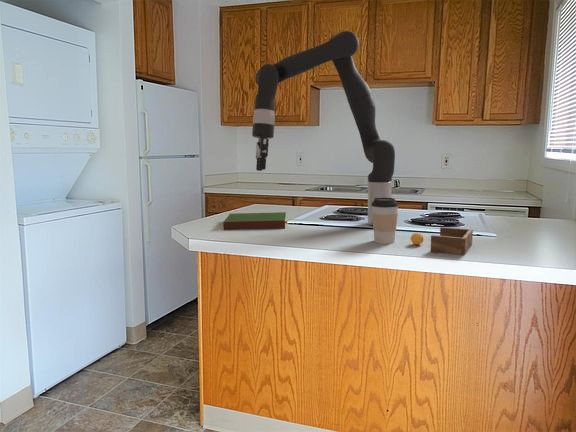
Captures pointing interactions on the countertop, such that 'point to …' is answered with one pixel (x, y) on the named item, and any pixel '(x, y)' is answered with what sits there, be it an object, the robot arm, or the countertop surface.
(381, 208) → the coffee cup
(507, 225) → the countertop surface
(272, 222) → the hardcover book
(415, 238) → the ball
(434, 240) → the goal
